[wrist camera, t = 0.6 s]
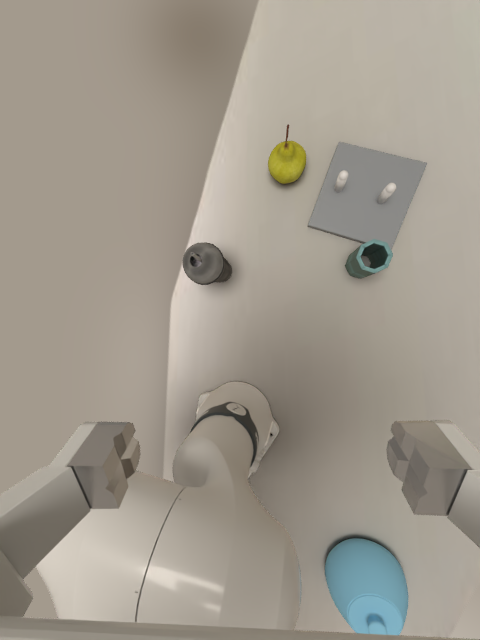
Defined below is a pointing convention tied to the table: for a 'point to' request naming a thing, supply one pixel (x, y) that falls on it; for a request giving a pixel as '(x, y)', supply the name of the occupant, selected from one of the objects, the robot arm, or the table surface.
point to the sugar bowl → (367, 587)
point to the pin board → (366, 194)
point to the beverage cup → (206, 264)
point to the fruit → (287, 161)
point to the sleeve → (377, 255)
